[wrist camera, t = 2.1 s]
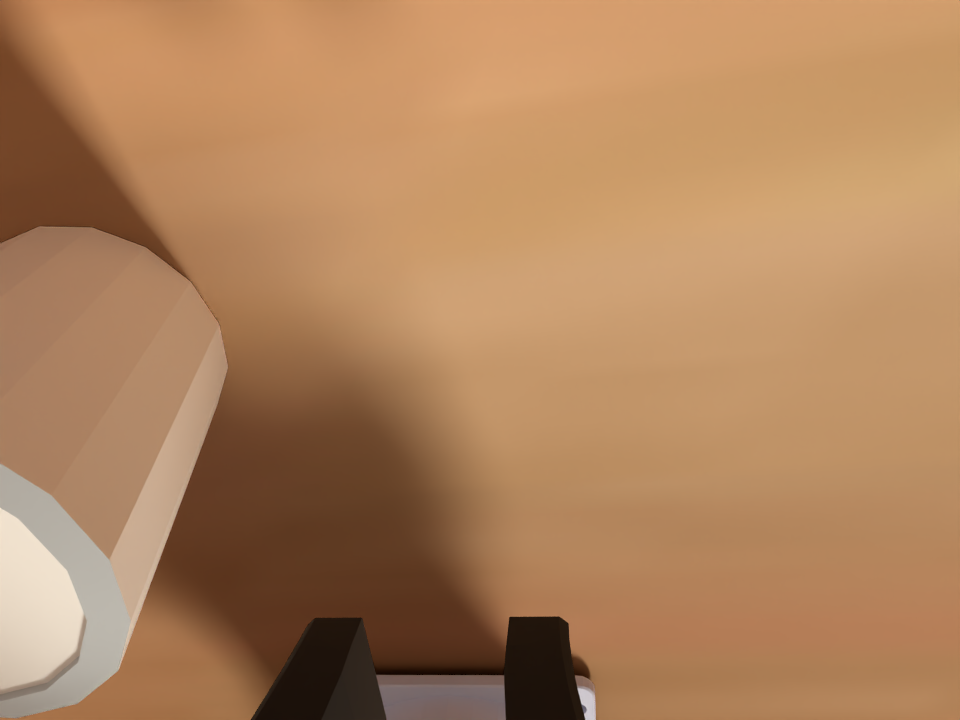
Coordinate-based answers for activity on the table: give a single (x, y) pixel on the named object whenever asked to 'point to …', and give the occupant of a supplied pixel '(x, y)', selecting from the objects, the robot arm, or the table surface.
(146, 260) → the beige faceted cylinder
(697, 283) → the table surface
